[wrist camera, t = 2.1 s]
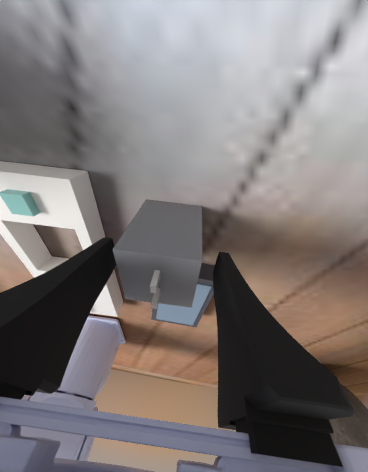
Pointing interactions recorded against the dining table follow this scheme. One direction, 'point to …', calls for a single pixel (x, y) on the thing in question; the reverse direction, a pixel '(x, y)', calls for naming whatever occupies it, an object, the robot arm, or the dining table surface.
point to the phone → (198, 307)
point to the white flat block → (51, 218)
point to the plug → (161, 254)
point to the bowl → (351, 425)
